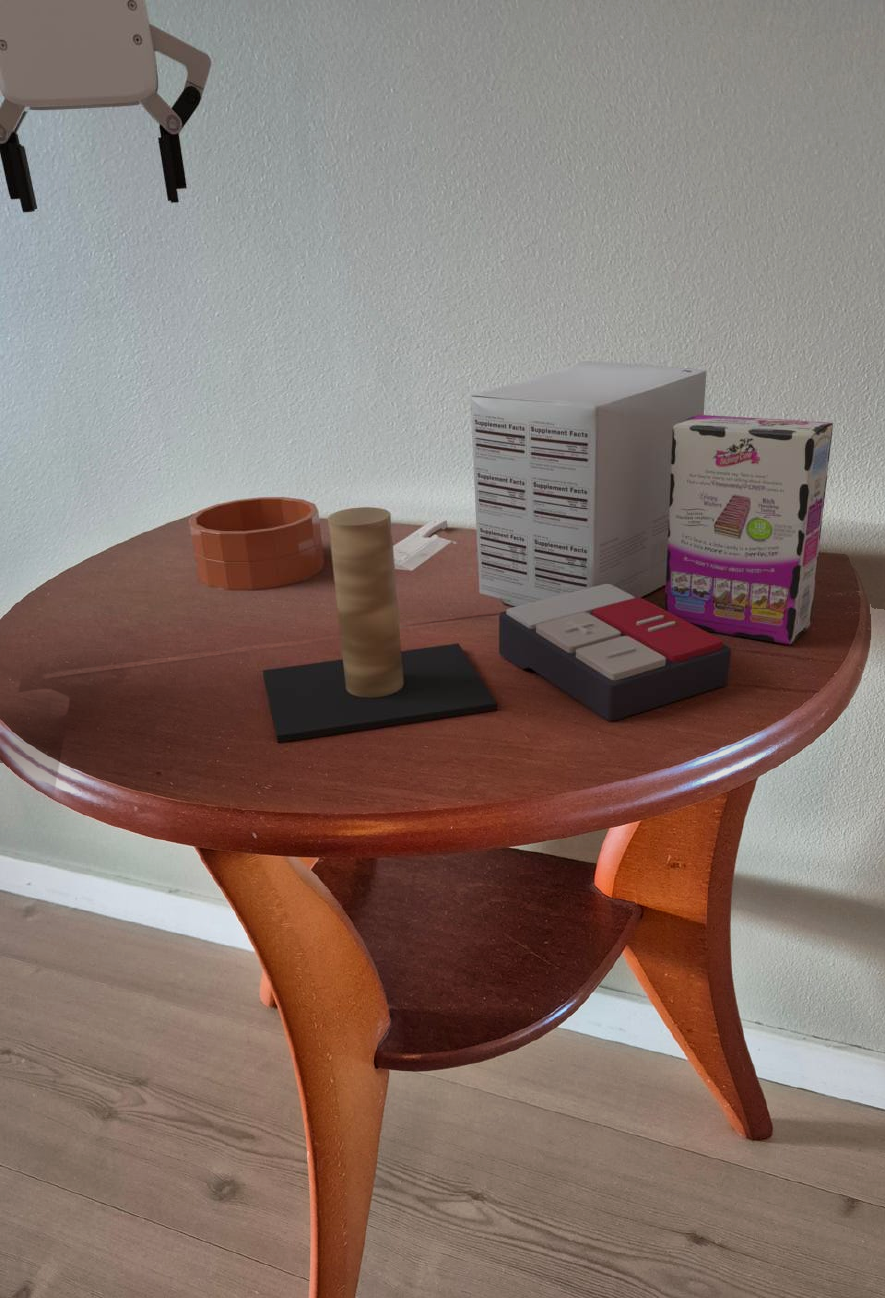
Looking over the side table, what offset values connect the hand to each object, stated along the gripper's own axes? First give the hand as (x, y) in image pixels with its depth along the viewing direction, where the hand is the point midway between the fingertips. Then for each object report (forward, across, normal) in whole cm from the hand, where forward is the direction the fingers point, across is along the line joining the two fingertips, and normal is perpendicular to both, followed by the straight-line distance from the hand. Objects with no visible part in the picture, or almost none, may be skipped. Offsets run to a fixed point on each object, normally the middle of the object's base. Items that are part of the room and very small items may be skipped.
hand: (102, 206), depth 75 cm
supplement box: (+34, -37, -4) cm, 50 cm away
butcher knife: (+33, -25, -20) cm, 46 cm away
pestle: (+33, -14, +13) cm, 38 cm away
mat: (+33, -14, +13) cm, 38 cm away
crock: (+33, -8, -19) cm, 39 cm away
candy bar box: (+34, -45, +10) cm, 57 cm away
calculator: (+34, -32, +15) cm, 49 cm away
